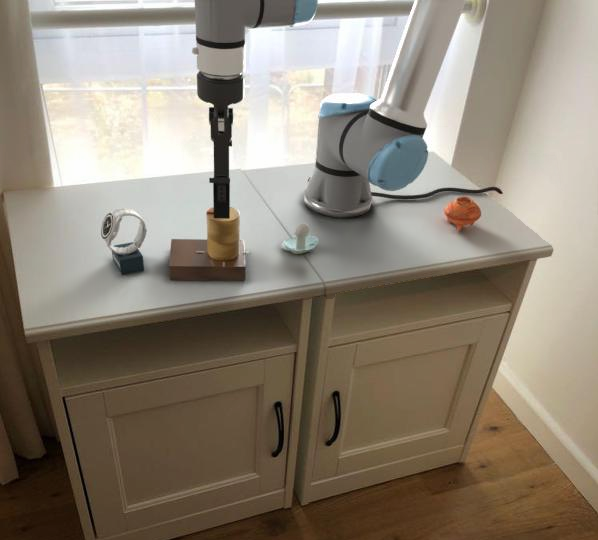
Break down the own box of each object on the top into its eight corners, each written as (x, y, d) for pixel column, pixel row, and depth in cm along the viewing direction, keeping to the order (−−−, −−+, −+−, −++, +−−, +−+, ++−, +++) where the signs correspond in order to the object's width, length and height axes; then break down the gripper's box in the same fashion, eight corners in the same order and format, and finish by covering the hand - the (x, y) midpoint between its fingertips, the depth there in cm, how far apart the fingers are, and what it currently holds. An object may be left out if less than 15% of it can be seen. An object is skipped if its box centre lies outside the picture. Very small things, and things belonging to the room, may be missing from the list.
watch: (102, 262, 125) (94, 208, 118) (144, 254, 129) (138, 201, 121) (111, 277, 122) (103, 222, 115) (153, 268, 125) (148, 215, 118)
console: (249, 253, 132) (249, 238, 130) (251, 281, 124) (251, 266, 122) (172, 252, 130) (171, 237, 128) (169, 280, 122) (168, 265, 120)
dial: (239, 244, 128) (239, 204, 122) (239, 260, 123) (240, 220, 118) (207, 244, 127) (206, 203, 122) (207, 260, 123) (206, 219, 117)
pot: (480, 236, 143) (481, 207, 138) (443, 238, 145) (442, 209, 140) (481, 218, 148) (481, 189, 144) (445, 220, 151) (444, 192, 146)
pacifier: (274, 246, 135) (289, 259, 131) (275, 217, 131) (290, 230, 127) (306, 239, 138) (320, 252, 134) (307, 211, 133) (323, 223, 130)
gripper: (198, 48, 113) (201, 169, 127) (194, 97, 94) (198, 233, 108) (242, 50, 113) (240, 170, 128) (247, 100, 95) (244, 234, 109)
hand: (221, 199), depth 118 cm, fingers open, 13 cm apart
